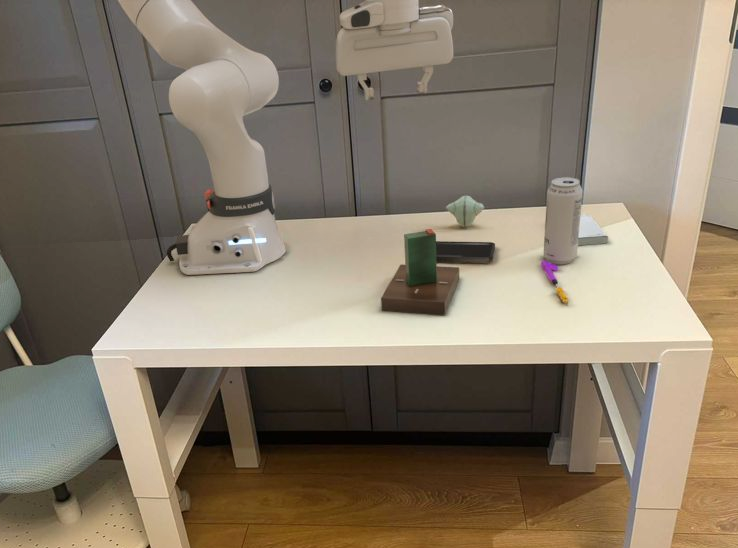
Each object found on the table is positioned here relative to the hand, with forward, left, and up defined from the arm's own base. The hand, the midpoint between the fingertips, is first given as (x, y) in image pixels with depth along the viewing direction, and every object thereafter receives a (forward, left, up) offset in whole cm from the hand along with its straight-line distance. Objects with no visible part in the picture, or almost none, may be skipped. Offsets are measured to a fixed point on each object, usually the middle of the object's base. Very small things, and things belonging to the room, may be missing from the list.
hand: (395, 96), depth 126 cm
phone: (+10, -2, -31) cm, 33 cm away
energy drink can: (+28, -10, -31) cm, 43 cm away
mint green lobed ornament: (+16, +12, -31) cm, 37 cm away
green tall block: (0, -17, -29) cm, 33 cm away
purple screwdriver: (+24, -20, -31) cm, 44 cm away
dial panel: (0, -17, -31) cm, 35 cm away
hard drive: (+36, +1, -31) cm, 48 cm away
